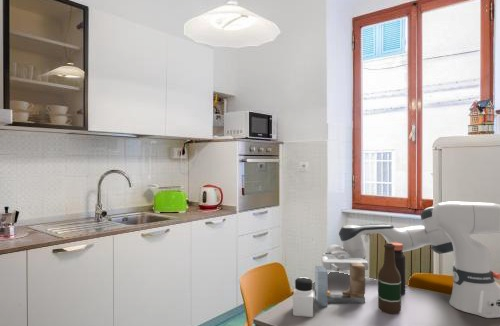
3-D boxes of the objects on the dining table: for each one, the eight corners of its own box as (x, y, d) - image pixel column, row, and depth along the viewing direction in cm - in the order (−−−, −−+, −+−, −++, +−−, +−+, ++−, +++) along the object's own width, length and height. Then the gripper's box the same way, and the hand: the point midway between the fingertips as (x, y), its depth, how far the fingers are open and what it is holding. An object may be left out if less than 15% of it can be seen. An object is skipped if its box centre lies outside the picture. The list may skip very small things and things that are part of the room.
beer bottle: (390, 316, 118) (391, 247, 117) (373, 308, 124) (373, 243, 124) (406, 312, 121) (406, 245, 121) (388, 304, 128) (388, 240, 128)
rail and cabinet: (362, 299, 132) (362, 266, 132) (368, 306, 125) (367, 272, 125) (314, 298, 133) (314, 265, 133) (318, 306, 126) (318, 271, 126)
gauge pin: (329, 294, 132) (329, 290, 132) (330, 295, 130) (330, 291, 130) (316, 294, 132) (316, 290, 132) (317, 295, 130) (317, 291, 130)
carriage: (361, 293, 133) (361, 262, 133) (365, 297, 128) (364, 266, 128) (341, 293, 133) (341, 262, 133) (344, 297, 128) (344, 266, 128)
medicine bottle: (313, 317, 117) (313, 283, 117) (292, 315, 118) (292, 281, 118) (313, 308, 124) (313, 276, 124) (294, 307, 125) (294, 275, 125)
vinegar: (384, 289, 142) (384, 242, 142) (398, 288, 144) (397, 241, 144) (394, 295, 136) (394, 246, 136) (409, 294, 138) (409, 245, 137)
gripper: (363, 267, 156) (373, 277, 142) (319, 266, 157) (324, 276, 143) (363, 253, 156) (373, 262, 142) (319, 253, 157) (324, 261, 143)
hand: (348, 269), depth 143 cm, fingers open, 8 cm apart
